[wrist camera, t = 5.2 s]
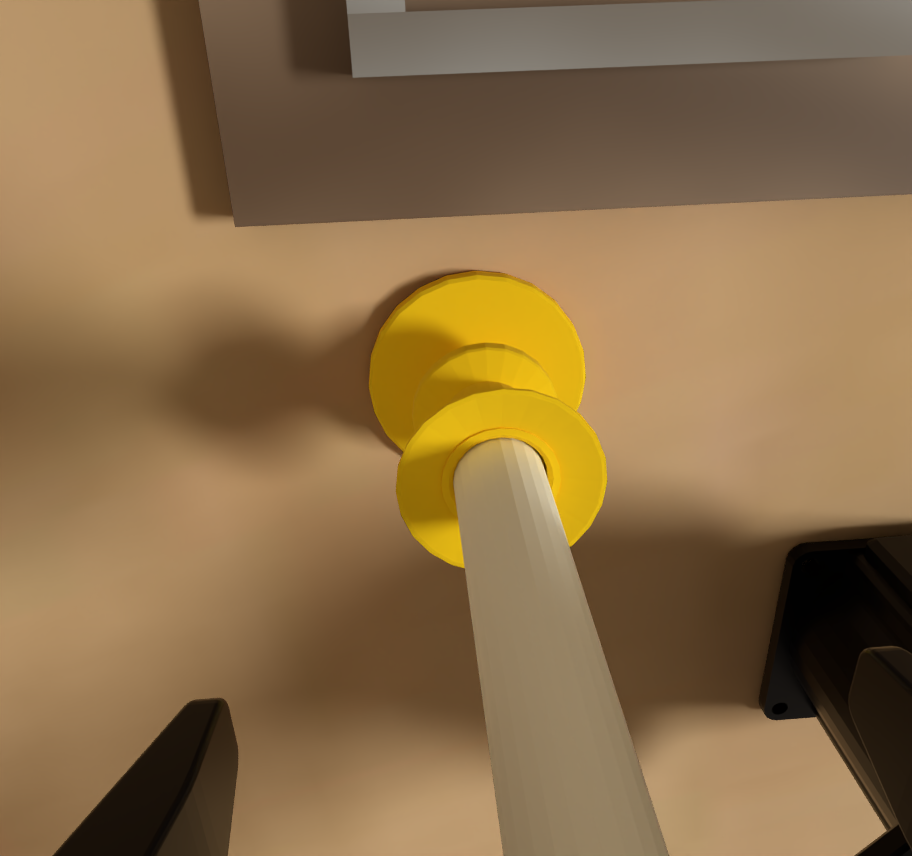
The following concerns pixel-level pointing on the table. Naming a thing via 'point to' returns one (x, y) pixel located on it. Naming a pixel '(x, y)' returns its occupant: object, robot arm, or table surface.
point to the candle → (516, 548)
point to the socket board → (554, 104)
